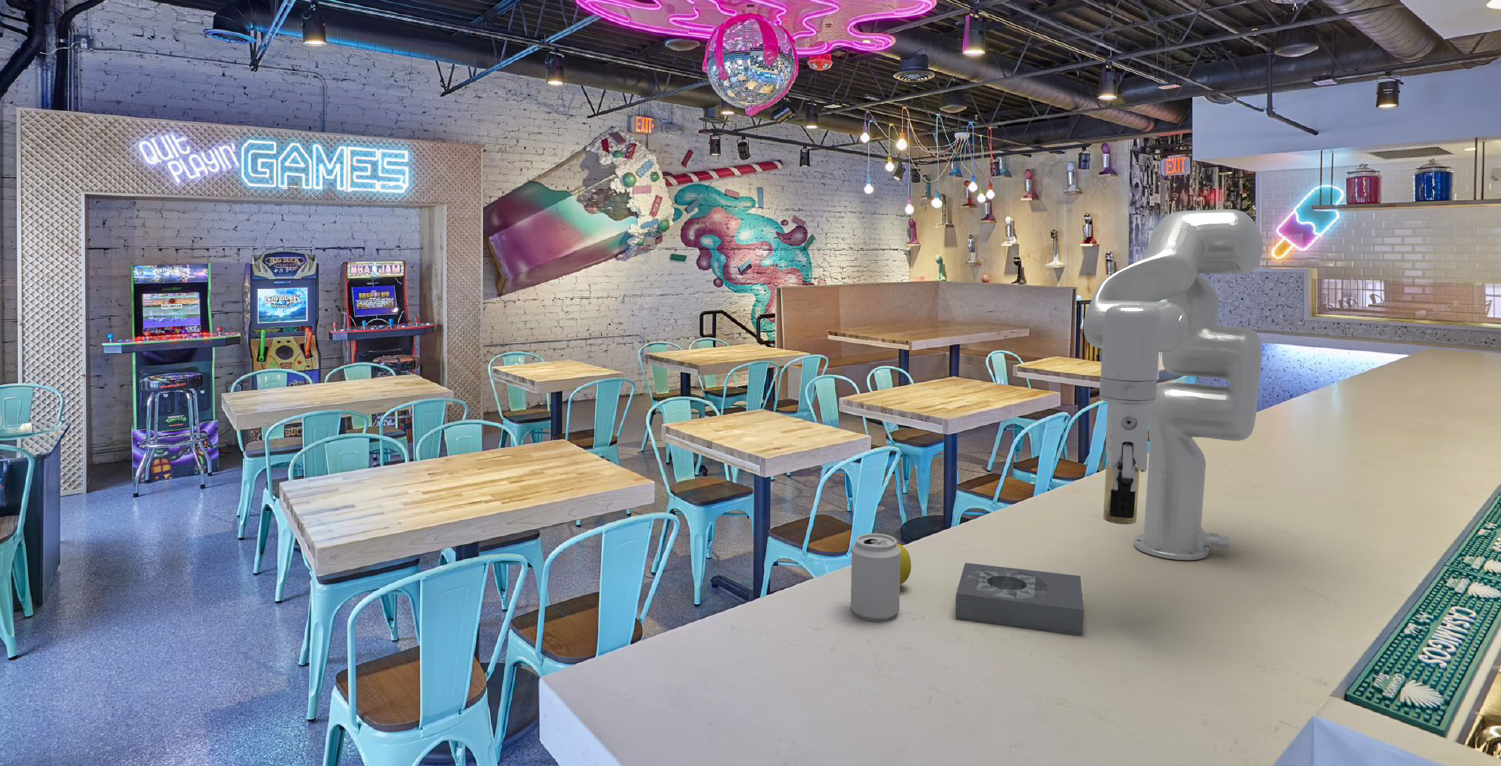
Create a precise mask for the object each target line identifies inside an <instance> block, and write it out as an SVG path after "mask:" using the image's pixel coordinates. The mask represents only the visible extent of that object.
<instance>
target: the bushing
mask: <svg viewBox="0 0 1501 766" xmlns="http://www.w3.org/2000/svg"><path fill="white" fill-rule="evenodd" d="M1117 469H1122V465H1118V468H1117ZM1119 475H1122V473H1118V477H1119ZM1104 480H1105V482H1104V497H1103V514H1102V519H1103V520H1105V521H1106V522H1108V523H1111V524H1118V525H1134V524H1136V523H1137V514H1138V513H1137V512H1138V502H1139V501H1138V500H1139V499H1138V497H1139V483H1140V482H1139V481H1140V470H1138V468H1137V465H1135V490H1134V491H1135V506H1134V517H1133V518H1121V517H1112V516H1110V499H1111V489H1113V483H1114V470H1113V469H1112V468H1110V466H1109V463H1108V464H1106V467H1105V479H1104Z"/></svg>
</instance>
